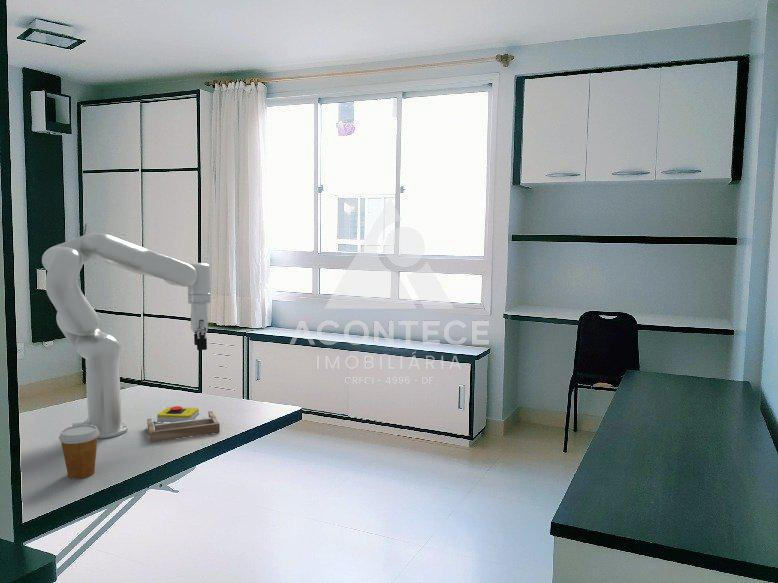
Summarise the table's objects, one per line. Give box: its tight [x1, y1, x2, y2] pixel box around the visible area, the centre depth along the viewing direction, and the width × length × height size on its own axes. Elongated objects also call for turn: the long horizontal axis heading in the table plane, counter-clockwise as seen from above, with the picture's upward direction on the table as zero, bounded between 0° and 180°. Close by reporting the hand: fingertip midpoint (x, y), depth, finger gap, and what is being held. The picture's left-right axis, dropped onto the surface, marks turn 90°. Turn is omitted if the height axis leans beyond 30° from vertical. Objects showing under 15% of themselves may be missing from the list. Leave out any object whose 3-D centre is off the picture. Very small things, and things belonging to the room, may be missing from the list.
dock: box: [146, 411, 221, 443], centre depth 196 cm, size 14×20×3 cm
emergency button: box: [156, 405, 200, 422], centre depth 208 cm, size 9×4×15 cm
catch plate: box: [154, 417, 211, 431], centre depth 195 cm, size 1×17×3 cm, turn 115°
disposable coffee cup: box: [58, 425, 99, 480], centre depth 161 cm, size 10×10×12 cm
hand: (200, 347), depth 215 cm, fingers open, 9 cm apart
